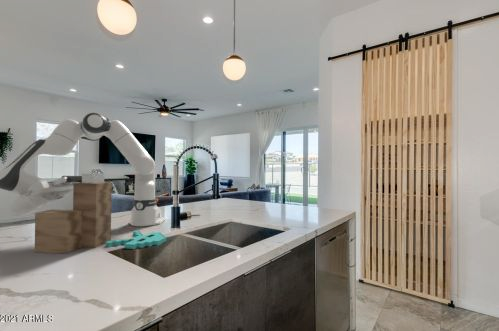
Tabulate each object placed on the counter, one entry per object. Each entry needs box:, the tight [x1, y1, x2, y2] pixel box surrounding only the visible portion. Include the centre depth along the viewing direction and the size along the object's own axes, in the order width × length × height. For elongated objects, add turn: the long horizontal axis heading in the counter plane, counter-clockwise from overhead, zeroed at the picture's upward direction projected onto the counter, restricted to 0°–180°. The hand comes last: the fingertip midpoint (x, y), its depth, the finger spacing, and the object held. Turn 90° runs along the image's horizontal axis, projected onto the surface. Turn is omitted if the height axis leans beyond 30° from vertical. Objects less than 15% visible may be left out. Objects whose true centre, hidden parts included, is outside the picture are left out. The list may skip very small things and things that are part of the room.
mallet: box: [60, 172, 105, 183], centre depth 112 cm, size 7×16×4 cm, turn 85°
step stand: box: [34, 181, 113, 254], centre depth 108 cm, size 18×19×26 cm
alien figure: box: [105, 230, 167, 250], centre depth 115 cm, size 20×2×20 cm
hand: (70, 177), depth 112 cm, fingers open, 3 cm apart
